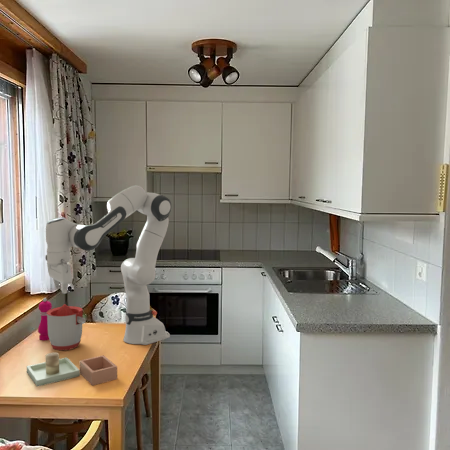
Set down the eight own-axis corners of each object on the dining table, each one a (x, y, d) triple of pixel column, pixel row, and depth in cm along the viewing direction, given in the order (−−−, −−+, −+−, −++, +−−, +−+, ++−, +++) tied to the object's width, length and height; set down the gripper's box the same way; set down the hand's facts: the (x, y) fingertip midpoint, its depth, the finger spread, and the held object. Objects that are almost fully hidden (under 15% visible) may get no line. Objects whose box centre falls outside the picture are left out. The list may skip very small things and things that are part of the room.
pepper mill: (57, 336, 223) (56, 296, 221) (48, 341, 216) (46, 300, 214) (44, 335, 225) (43, 295, 223) (35, 340, 218) (33, 299, 216)
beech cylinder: (57, 368, 183) (56, 351, 182) (61, 372, 179) (60, 355, 178) (44, 371, 180) (43, 354, 180) (47, 375, 176) (47, 358, 176)
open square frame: (103, 366, 187) (103, 355, 186) (117, 378, 176) (117, 366, 175) (79, 372, 181) (79, 360, 181) (92, 385, 170) (91, 372, 169)
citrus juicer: (76, 354, 201) (75, 310, 199) (40, 351, 204) (39, 307, 202) (92, 342, 216) (91, 300, 214) (59, 339, 219) (57, 299, 217)
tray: (67, 362, 191) (66, 357, 191) (79, 376, 178) (79, 370, 178) (26, 372, 182) (26, 366, 181) (37, 386, 169) (36, 380, 168)
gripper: (75, 260, 178) (77, 294, 180) (59, 253, 195) (61, 285, 196) (58, 262, 175) (61, 297, 176) (44, 255, 191) (46, 287, 193)
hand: (61, 290), depth 186 cm, fingers open, 8 cm apart
